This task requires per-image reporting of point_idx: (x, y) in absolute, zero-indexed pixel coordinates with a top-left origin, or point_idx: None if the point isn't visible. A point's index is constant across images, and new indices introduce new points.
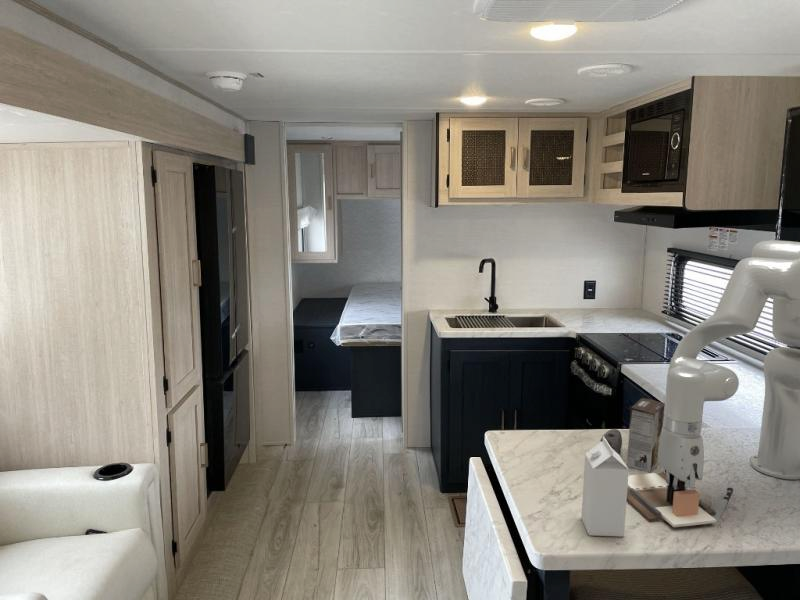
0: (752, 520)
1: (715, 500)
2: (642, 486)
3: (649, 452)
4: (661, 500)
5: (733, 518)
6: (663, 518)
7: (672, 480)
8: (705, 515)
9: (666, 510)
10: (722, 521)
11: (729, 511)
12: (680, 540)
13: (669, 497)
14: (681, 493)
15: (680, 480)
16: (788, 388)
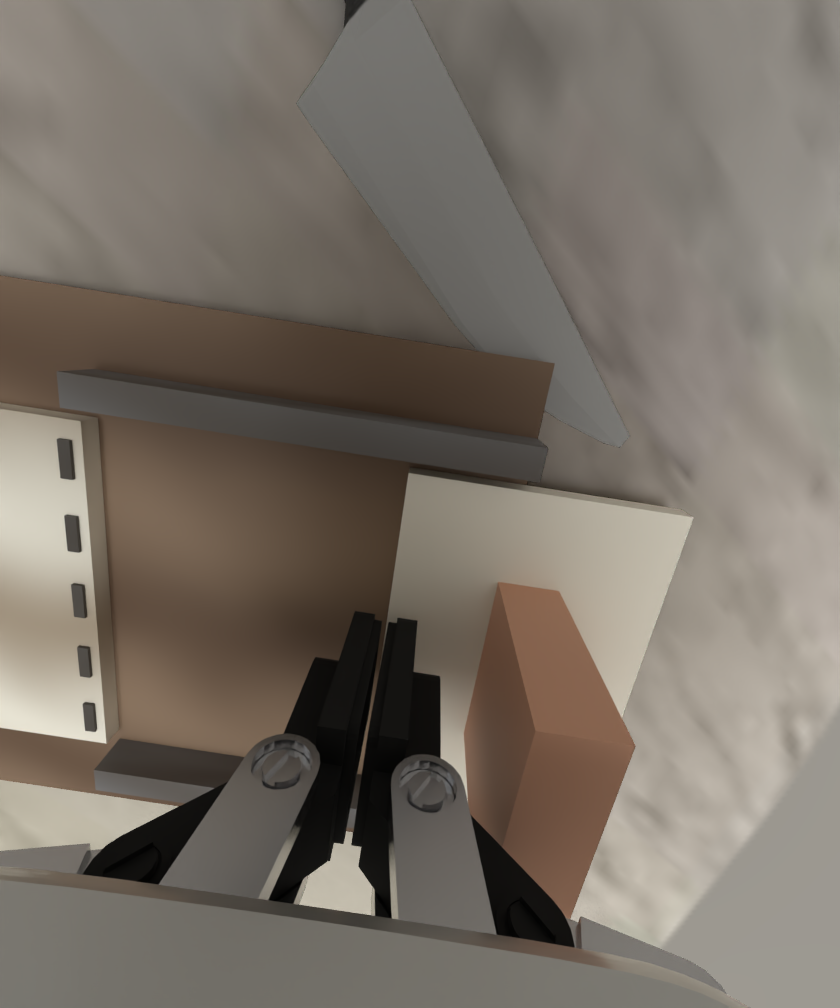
0: (774, 69)
1: (348, 129)
2: (54, 656)
3: None
4: (260, 638)
5: (655, 243)
6: None
7: (294, 877)
8: (600, 546)
9: None
10: (641, 386)
11: (551, 164)
12: (663, 803)
13: (362, 745)
14: None
15: (310, 783)
16: None
